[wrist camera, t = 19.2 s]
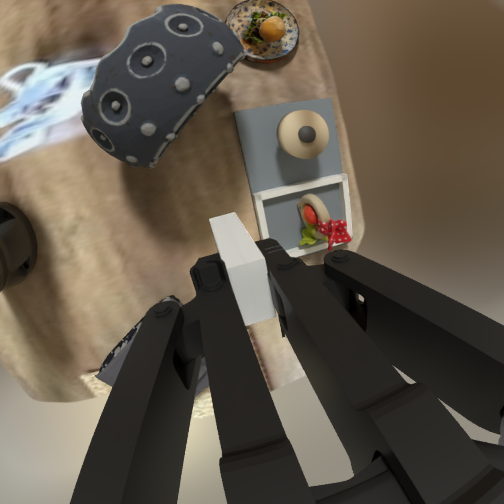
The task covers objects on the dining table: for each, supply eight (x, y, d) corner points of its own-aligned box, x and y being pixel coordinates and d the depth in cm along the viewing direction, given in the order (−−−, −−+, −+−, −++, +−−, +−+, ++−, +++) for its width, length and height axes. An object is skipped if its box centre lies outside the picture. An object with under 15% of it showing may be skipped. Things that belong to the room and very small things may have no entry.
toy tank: (239, 333, 57) (257, 389, 43) (163, 397, 60) (165, 451, 46) (168, 281, 49) (165, 336, 36) (97, 360, 52) (84, 415, 39)
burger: (284, -1, 35) (300, -19, 28) (304, 57, 40) (324, 47, 33) (213, 8, 34) (219, -11, 27) (233, 70, 39) (243, 59, 32)
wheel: (281, 161, 41) (288, 163, 38) (272, 114, 38) (278, 113, 35) (324, 153, 42) (334, 155, 39) (317, 108, 39) (326, 106, 36)
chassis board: (265, 264, 52) (271, 274, 48) (233, 112, 41) (238, 110, 37) (346, 240, 54) (357, 248, 50) (328, 98, 43) (339, 96, 39)
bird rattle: (279, 209, 50) (303, 257, 50) (292, 198, 39) (322, 259, 39) (311, 193, 50) (334, 240, 50) (331, 179, 39) (360, 239, 39)
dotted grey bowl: (238, 67, 38) (277, 23, 20) (155, 168, 42) (134, 194, 24) (183, 29, 34) (187, -36, 16) (100, 131, 37) (43, 132, 19)
